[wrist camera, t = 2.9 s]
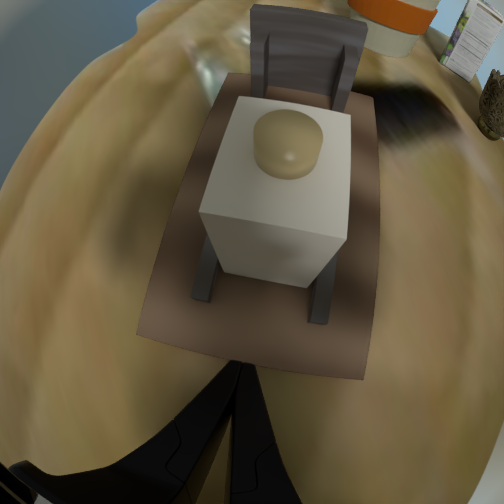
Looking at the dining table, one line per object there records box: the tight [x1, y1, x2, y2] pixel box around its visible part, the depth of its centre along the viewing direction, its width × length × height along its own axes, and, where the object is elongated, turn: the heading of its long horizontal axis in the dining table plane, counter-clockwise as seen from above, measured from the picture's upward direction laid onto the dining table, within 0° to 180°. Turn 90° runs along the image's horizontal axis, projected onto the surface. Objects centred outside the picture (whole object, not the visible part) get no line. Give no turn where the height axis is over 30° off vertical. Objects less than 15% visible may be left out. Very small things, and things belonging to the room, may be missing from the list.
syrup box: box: [440, 0, 504, 82], centre depth 21 cm, size 6×6×14 cm
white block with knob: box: [199, 96, 351, 288], centre depth 13 cm, size 6×5×9 cm
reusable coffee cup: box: [348, 0, 440, 58], centre depth 21 cm, size 13×13×15 cm
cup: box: [478, 69, 504, 141], centre depth 19 cm, size 8×7×8 cm
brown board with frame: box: [136, 4, 380, 380], centre depth 16 cm, size 24×14×9 cm, turn 168°
